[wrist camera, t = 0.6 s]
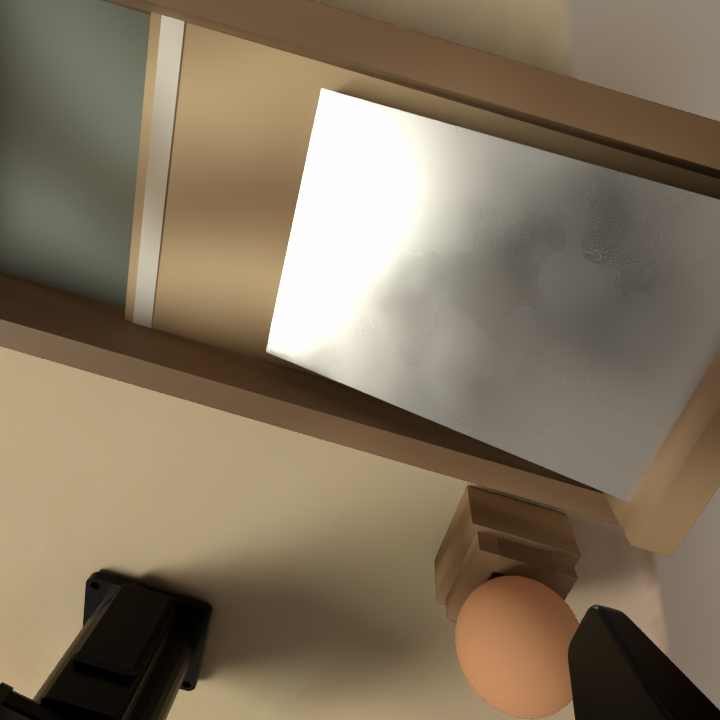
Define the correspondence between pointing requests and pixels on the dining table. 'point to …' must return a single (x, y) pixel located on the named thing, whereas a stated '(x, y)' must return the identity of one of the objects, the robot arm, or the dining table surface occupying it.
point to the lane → (278, 212)
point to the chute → (500, 289)
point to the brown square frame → (502, 548)
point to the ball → (517, 646)
